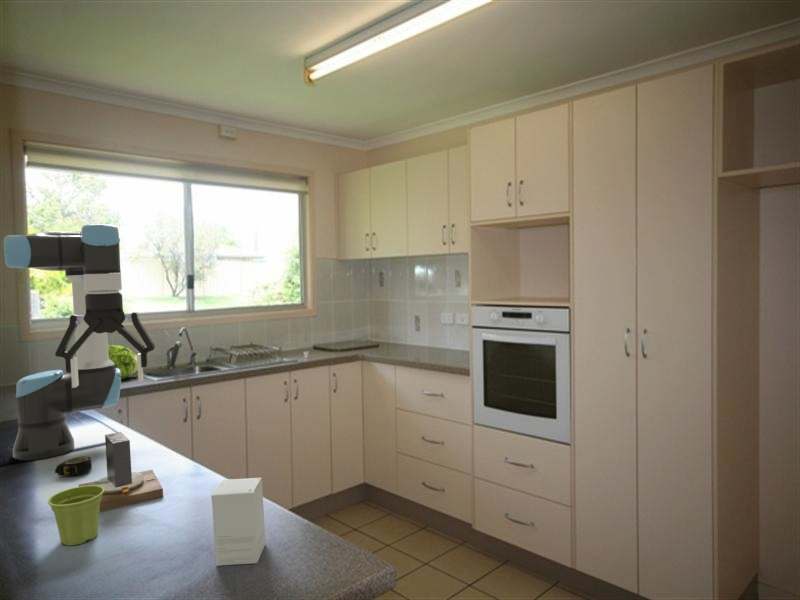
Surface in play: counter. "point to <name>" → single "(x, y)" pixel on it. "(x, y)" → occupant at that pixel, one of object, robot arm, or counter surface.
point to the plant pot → (77, 513)
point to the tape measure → (74, 466)
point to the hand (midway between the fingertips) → (108, 384)
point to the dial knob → (119, 466)
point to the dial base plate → (132, 493)
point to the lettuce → (123, 359)
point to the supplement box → (238, 521)
